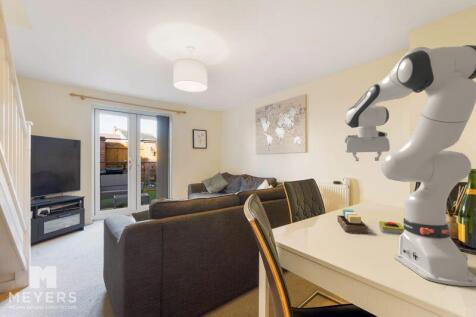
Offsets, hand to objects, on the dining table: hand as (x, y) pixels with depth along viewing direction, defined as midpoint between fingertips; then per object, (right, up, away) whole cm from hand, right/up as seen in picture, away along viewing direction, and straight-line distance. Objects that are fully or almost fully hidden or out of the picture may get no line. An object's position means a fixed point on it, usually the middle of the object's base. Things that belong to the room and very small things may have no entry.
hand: (366, 160), depth 114 cm
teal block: (-6, -32, +8) cm, 33 cm away
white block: (-7, -32, +2) cm, 33 cm away
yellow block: (-8, -32, -4) cm, 33 cm away
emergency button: (+10, -36, -4) cm, 37 cm away
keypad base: (-7, -35, +2) cm, 36 cm away
